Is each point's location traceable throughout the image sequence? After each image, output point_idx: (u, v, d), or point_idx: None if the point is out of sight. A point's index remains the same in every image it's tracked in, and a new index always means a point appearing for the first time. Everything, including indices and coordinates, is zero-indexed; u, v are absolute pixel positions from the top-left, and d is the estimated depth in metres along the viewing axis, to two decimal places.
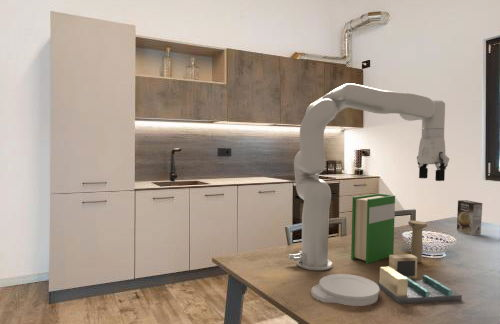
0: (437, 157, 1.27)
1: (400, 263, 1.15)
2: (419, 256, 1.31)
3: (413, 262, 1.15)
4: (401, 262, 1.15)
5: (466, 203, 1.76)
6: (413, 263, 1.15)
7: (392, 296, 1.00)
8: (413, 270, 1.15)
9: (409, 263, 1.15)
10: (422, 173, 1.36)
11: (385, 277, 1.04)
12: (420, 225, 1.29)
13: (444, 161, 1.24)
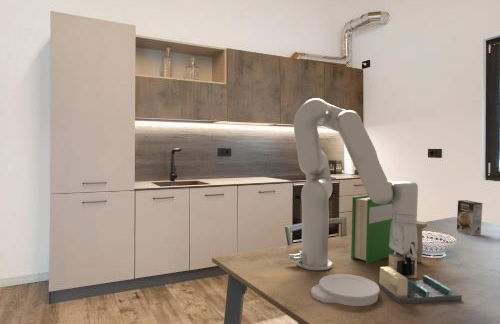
0: None
1: (400, 262, 1.15)
2: (419, 256, 1.31)
3: (413, 261, 1.15)
4: (401, 261, 1.15)
5: (466, 203, 1.76)
6: (413, 262, 1.15)
7: (392, 296, 1.00)
8: (413, 269, 1.16)
9: None
10: None
11: (385, 277, 1.04)
12: (420, 225, 1.29)
13: (411, 258, 1.11)
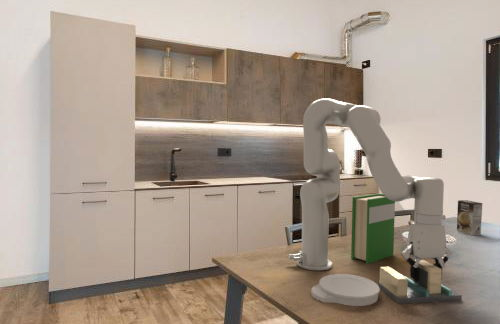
0: None
1: None
2: None
3: (425, 272, 1.01)
4: None
5: (466, 203, 1.76)
6: (425, 273, 1.01)
7: (392, 296, 1.00)
8: (425, 281, 1.01)
9: (422, 271, 1.03)
10: None
11: (385, 277, 1.04)
12: None
13: None
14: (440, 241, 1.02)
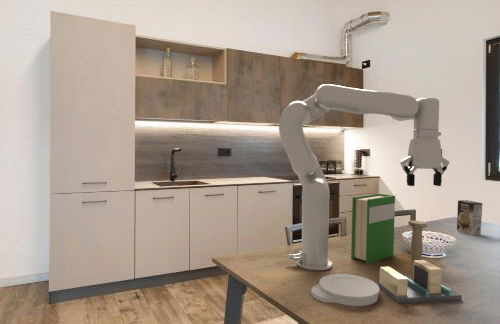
0: None
1: (415, 267, 1.06)
2: (419, 256, 1.31)
3: (425, 272, 1.01)
4: (416, 267, 1.06)
5: (466, 203, 1.76)
6: (425, 273, 1.01)
7: (392, 296, 1.00)
8: (425, 281, 1.01)
9: (422, 271, 1.03)
10: (435, 179, 1.20)
11: (385, 277, 1.04)
12: (420, 225, 1.29)
13: None
14: (436, 153, 1.16)
